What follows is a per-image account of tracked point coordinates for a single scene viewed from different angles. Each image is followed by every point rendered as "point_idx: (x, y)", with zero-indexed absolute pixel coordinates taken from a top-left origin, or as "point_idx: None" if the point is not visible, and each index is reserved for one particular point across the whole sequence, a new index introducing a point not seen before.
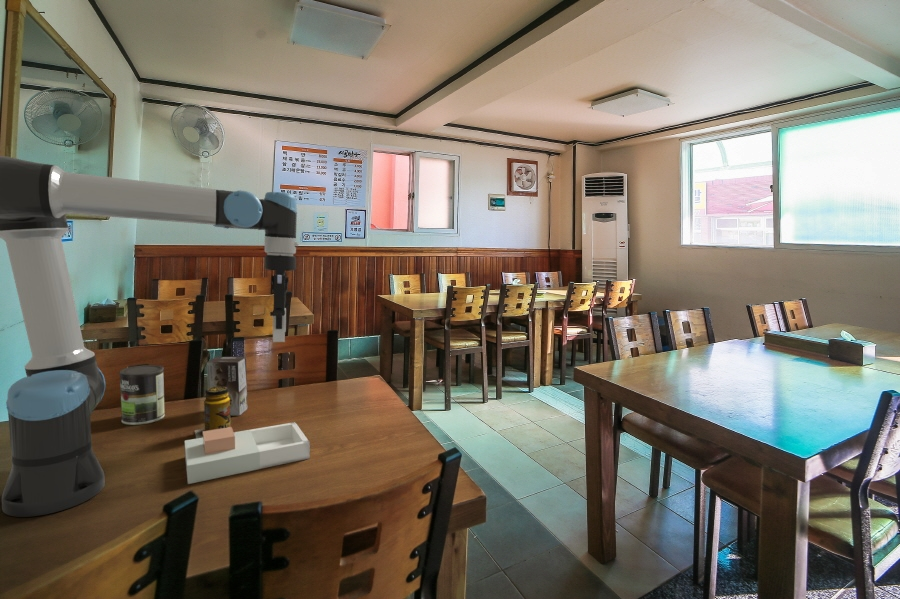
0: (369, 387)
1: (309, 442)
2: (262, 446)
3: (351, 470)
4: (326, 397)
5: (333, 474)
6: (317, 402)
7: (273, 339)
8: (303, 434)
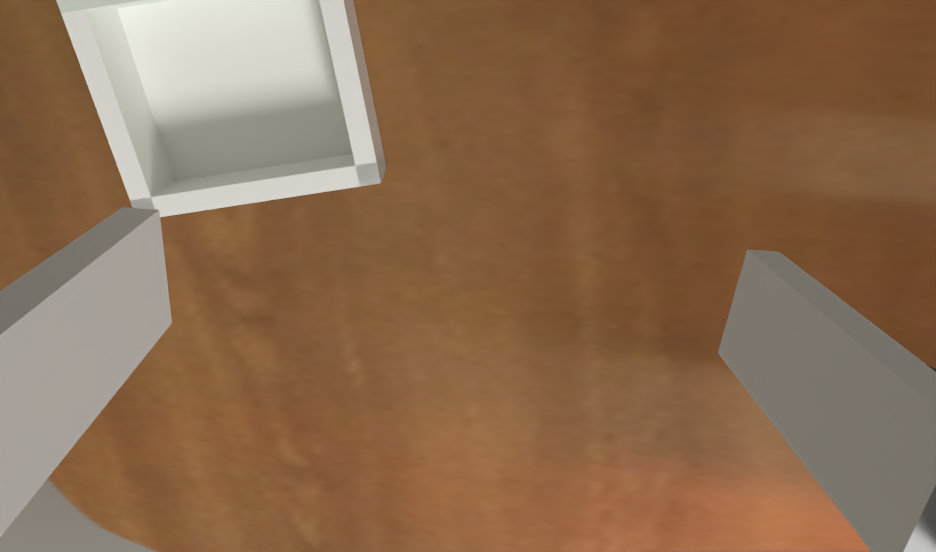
0: None
1: None
2: (297, 27)
3: None
4: None
5: (26, 261)
6: None
7: (109, 223)
8: (224, 204)
